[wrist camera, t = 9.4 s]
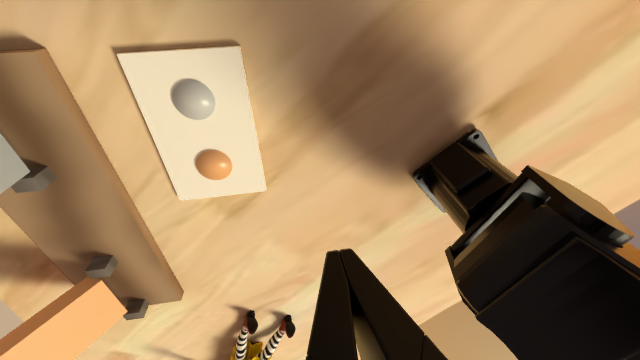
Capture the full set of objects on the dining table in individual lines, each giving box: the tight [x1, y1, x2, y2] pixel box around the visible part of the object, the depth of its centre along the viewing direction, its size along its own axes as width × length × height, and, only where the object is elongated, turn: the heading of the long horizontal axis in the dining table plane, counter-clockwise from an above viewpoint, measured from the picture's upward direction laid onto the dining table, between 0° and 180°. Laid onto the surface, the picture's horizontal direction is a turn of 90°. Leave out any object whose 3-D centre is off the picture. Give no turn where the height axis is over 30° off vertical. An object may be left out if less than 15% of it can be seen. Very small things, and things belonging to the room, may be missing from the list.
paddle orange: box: [0, 276, 128, 360], centre depth 21 cm, size 2×5×11 cm
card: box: [117, 46, 267, 201], centre depth 19 cm, size 7×11×1 cm, turn 2°
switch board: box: [0, 48, 184, 320], centre depth 21 cm, size 8×24×2 cm, turn 2°
